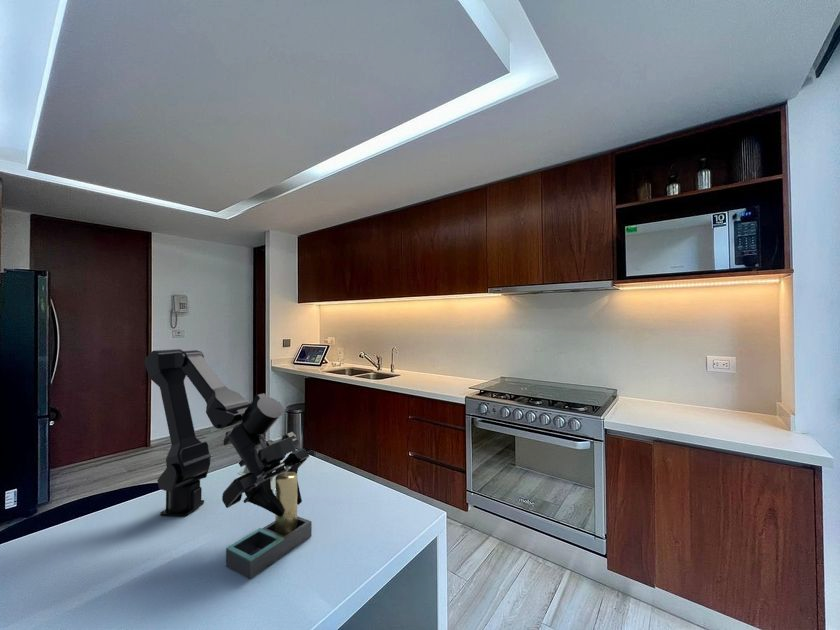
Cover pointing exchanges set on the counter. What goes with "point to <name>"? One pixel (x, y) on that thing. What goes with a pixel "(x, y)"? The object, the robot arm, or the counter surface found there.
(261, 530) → the hole rail
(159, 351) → the robot arm
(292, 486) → the brass post
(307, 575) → the counter surface
